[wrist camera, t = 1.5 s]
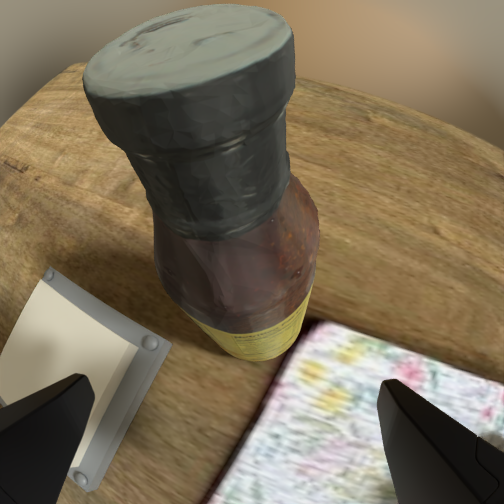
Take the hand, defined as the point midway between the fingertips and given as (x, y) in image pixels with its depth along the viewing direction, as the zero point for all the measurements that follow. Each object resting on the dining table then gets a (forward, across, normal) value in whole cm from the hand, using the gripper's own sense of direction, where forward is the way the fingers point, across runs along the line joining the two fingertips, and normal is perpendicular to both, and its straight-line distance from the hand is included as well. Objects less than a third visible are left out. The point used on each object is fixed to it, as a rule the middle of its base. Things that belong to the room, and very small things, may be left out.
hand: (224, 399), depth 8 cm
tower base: (+10, +16, +8) cm, 20 cm away
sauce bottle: (+13, 0, +5) cm, 14 cm away
